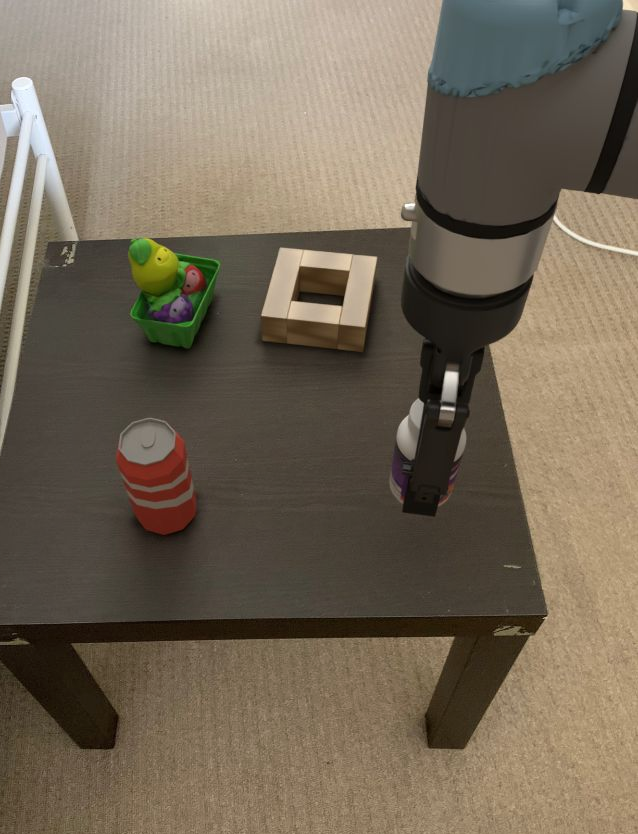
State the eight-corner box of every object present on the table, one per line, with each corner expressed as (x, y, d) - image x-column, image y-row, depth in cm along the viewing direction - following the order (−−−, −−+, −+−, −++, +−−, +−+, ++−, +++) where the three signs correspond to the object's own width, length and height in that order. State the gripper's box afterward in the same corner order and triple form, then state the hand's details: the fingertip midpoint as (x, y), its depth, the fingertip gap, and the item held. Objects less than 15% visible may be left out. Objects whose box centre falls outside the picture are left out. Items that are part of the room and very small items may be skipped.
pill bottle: (402, 519, 63) (415, 449, 54) (379, 468, 66) (389, 395, 57) (463, 502, 63) (485, 431, 55) (438, 453, 66) (455, 378, 58)
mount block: (374, 282, 94) (377, 256, 90) (362, 352, 88) (365, 327, 84) (280, 273, 95) (279, 247, 92) (262, 340, 89) (260, 315, 86)
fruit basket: (196, 359, 88) (183, 284, 79) (126, 346, 90) (105, 271, 80) (225, 293, 94) (217, 216, 84) (159, 282, 96) (144, 205, 86)
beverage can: (198, 484, 79) (183, 411, 68) (195, 537, 75) (179, 468, 65) (140, 486, 79) (117, 413, 69) (134, 538, 75) (109, 470, 65)
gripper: (419, 161, 50) (389, 393, 69) (390, 368, 40) (364, 569, 59) (536, 169, 48) (472, 402, 68) (535, 383, 39) (460, 583, 58)
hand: (422, 480), depth 64 cm, fingers closed on pill bottle, 5 cm apart
